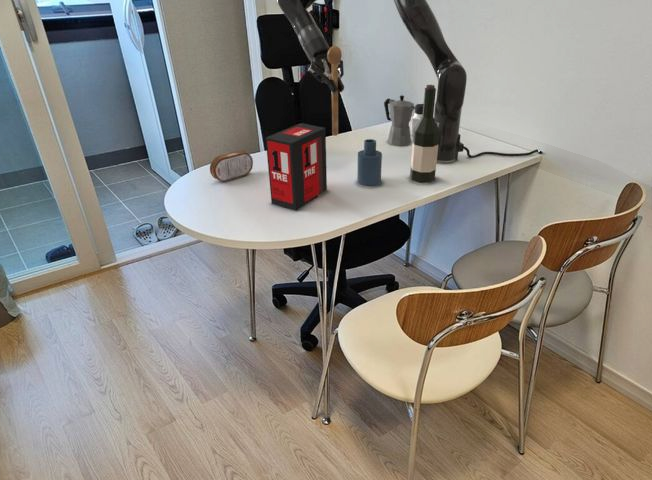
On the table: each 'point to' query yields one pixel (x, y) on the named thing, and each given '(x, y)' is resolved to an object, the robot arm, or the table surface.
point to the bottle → (369, 164)
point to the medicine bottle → (417, 116)
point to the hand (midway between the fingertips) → (339, 91)
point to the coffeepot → (399, 121)
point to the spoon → (334, 59)
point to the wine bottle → (425, 141)
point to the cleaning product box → (297, 165)
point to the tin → (231, 165)
